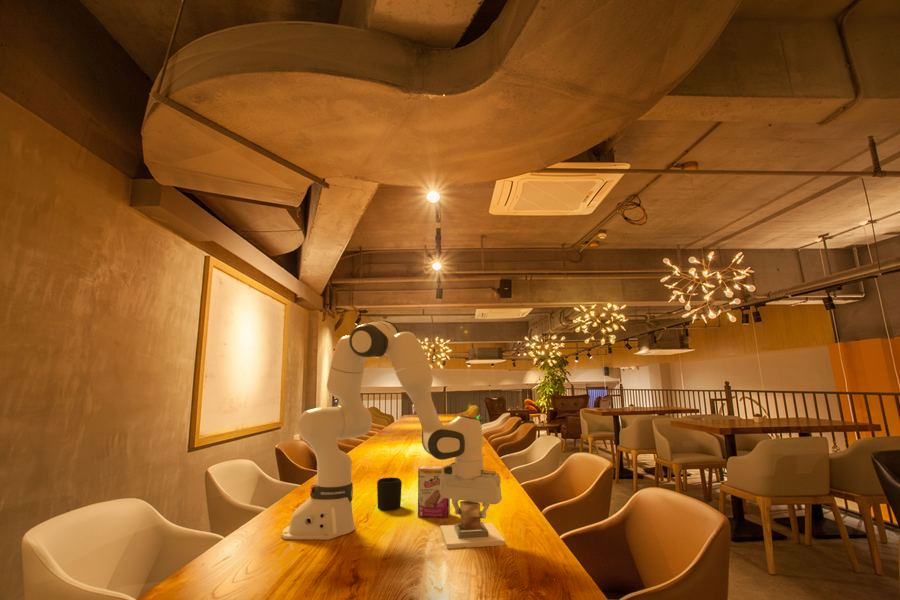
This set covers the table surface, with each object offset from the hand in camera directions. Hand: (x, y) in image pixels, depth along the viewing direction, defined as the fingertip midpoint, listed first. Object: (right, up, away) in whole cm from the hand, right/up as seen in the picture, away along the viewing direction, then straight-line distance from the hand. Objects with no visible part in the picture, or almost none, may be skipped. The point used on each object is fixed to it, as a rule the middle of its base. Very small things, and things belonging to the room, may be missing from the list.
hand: (470, 516), depth 136 cm
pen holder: (-30, -13, +33) cm, 46 cm away
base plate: (0, -6, -1) cm, 6 cm away
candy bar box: (-12, -11, +21) cm, 27 cm away
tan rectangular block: (0, -3, -1) cm, 3 cm away
